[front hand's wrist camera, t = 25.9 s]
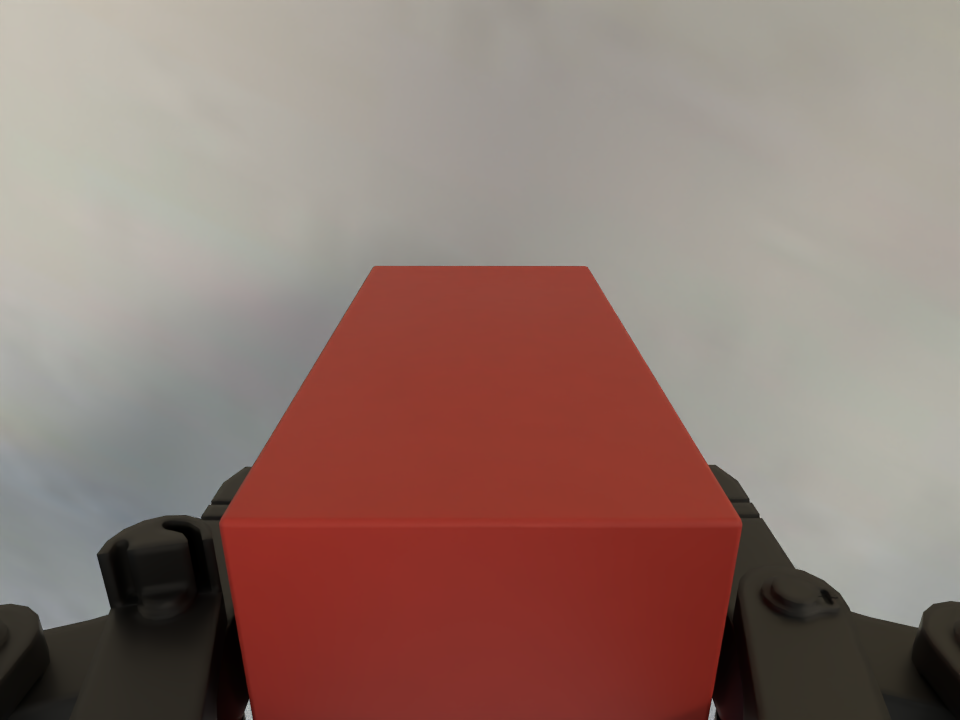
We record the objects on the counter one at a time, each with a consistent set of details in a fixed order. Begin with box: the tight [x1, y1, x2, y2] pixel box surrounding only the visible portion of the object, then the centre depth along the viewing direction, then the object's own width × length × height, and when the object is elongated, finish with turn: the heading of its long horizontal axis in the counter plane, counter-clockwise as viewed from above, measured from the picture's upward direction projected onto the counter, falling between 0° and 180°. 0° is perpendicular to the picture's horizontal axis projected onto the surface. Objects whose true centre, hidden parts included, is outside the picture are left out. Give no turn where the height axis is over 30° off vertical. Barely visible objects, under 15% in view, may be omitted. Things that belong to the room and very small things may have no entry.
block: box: [219, 266, 742, 720], centre depth 11 cm, size 5×7×9 cm
